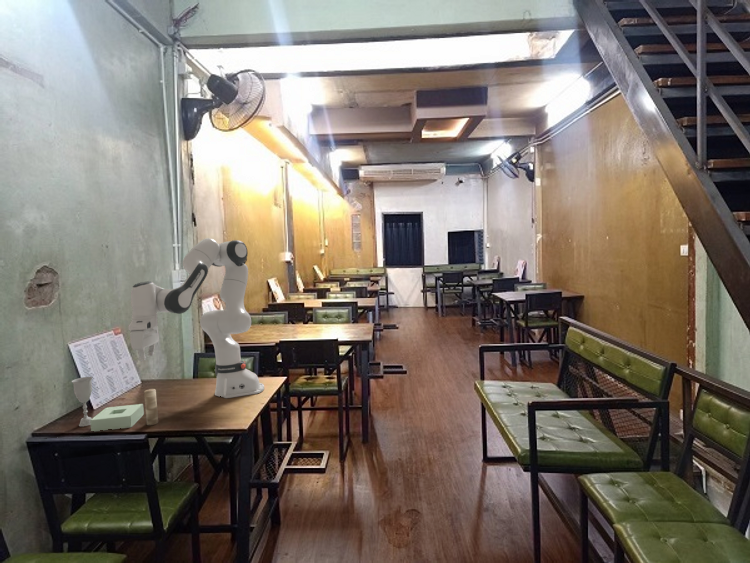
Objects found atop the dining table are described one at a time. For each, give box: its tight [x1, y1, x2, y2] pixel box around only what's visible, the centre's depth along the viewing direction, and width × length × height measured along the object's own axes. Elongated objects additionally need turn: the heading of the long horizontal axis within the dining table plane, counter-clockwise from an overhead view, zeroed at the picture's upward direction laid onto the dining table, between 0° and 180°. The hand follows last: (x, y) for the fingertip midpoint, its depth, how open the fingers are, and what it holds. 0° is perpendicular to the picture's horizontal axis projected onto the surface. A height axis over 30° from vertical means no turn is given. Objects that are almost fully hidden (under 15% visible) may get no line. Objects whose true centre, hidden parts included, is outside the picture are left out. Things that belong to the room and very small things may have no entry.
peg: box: [143, 388, 159, 426], centre depth 168 cm, size 4×4×13 cm
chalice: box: [71, 376, 93, 427], centre depth 171 cm, size 7×7×18 cm
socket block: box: [90, 403, 145, 432], centre depth 170 cm, size 14×14×4 cm
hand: (147, 357), depth 170 cm, fingers open, 8 cm apart
